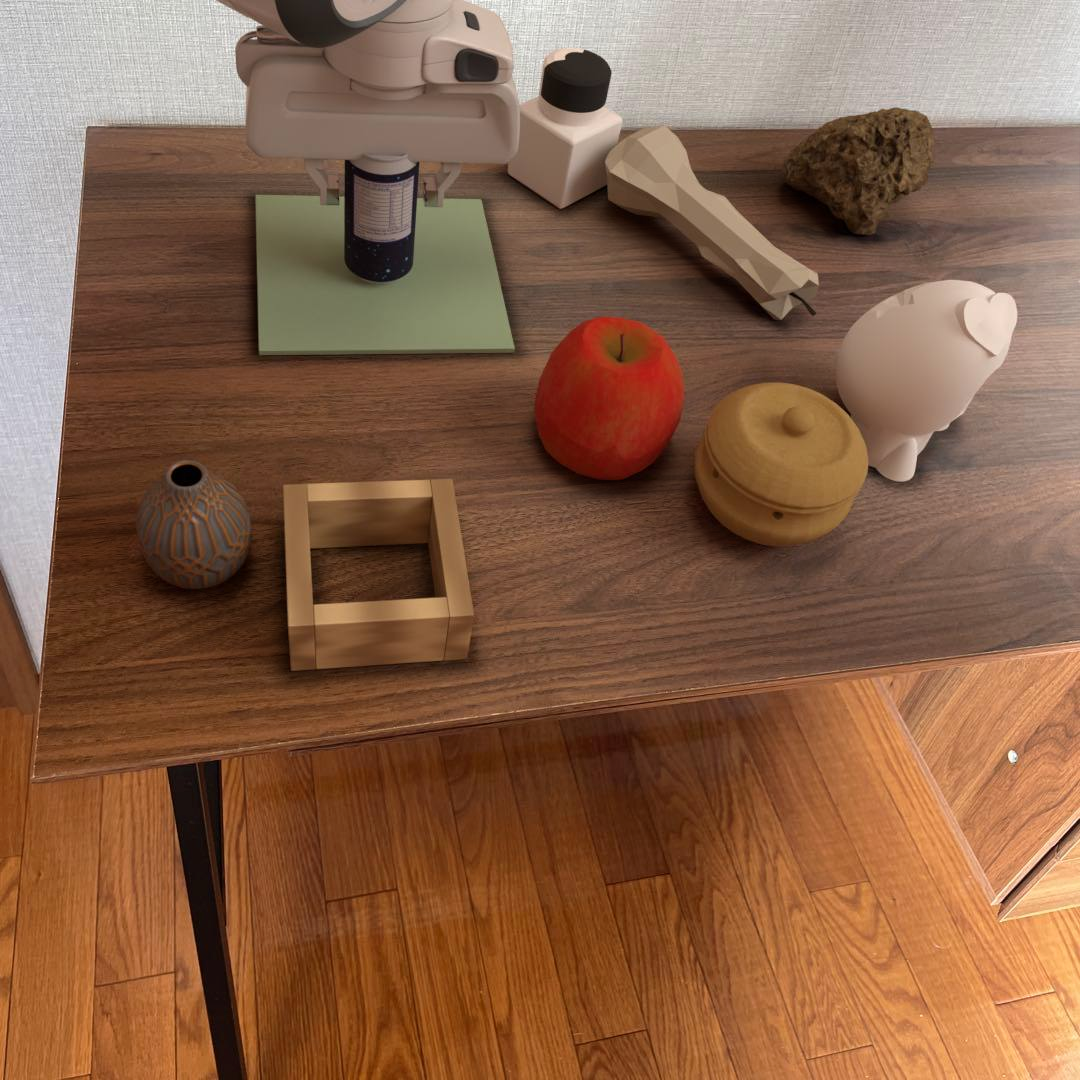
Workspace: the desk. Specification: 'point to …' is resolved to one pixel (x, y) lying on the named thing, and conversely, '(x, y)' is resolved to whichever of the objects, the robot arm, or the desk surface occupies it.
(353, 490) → the holder
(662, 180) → the faceted club
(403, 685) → the desk surface
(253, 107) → the robot arm
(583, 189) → the medicine bottle
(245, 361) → the desk surface
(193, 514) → the vase
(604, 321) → the apple
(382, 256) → the beverage can
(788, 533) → the pot
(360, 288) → the mat
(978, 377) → the figurine
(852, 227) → the brown porous lump
